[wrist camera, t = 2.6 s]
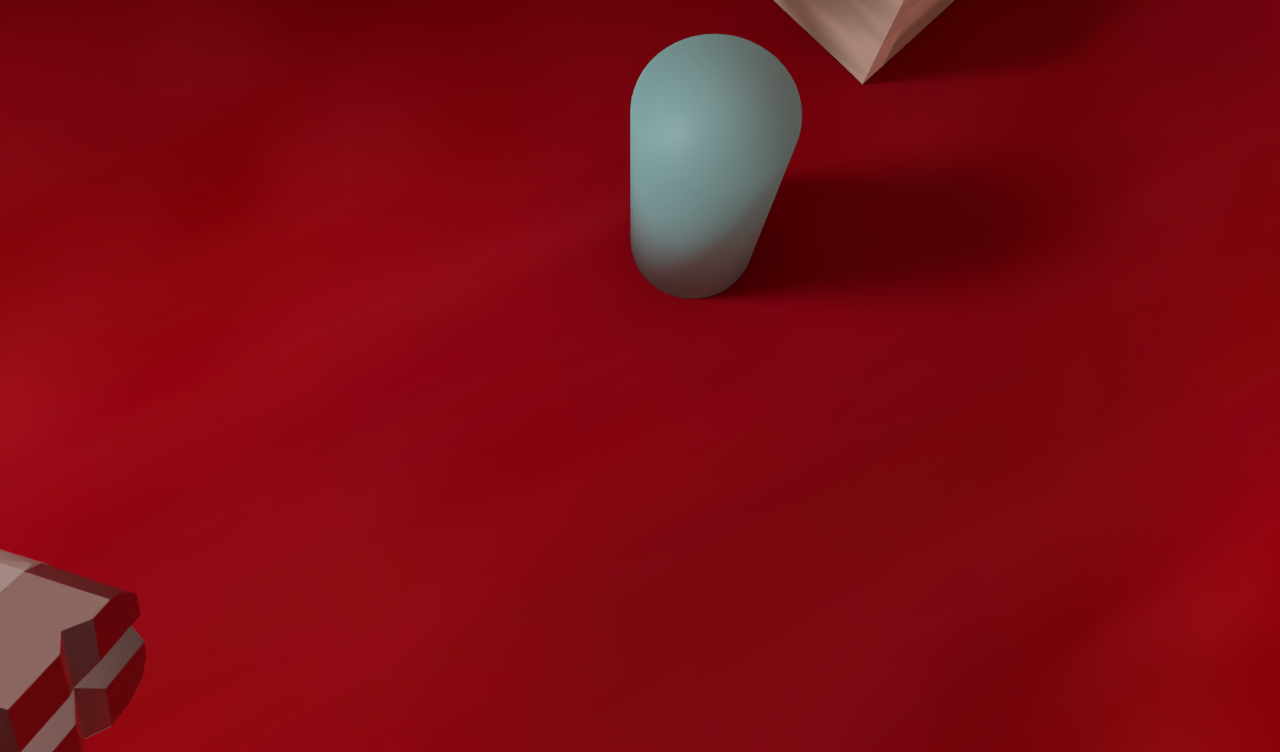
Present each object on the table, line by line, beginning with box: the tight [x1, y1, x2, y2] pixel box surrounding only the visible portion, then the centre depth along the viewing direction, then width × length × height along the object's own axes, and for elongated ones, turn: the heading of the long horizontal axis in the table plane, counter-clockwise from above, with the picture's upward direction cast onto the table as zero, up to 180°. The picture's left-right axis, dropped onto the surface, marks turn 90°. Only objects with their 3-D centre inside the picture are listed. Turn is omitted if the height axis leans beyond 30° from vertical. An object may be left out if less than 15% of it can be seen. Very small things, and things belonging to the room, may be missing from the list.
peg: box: [630, 34, 802, 299], centre depth 27 cm, size 4×4×9 cm
